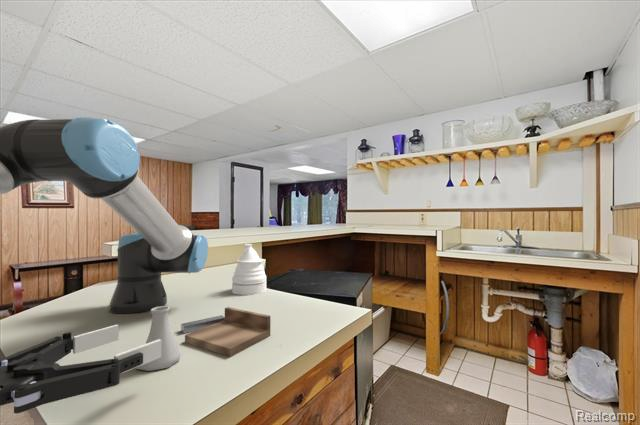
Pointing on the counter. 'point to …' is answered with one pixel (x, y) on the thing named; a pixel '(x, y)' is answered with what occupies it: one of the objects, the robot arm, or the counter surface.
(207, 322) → the grey rectangular bar
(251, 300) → the counter surface
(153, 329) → the flask
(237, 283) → the honey pot
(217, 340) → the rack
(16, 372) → the robot arm
